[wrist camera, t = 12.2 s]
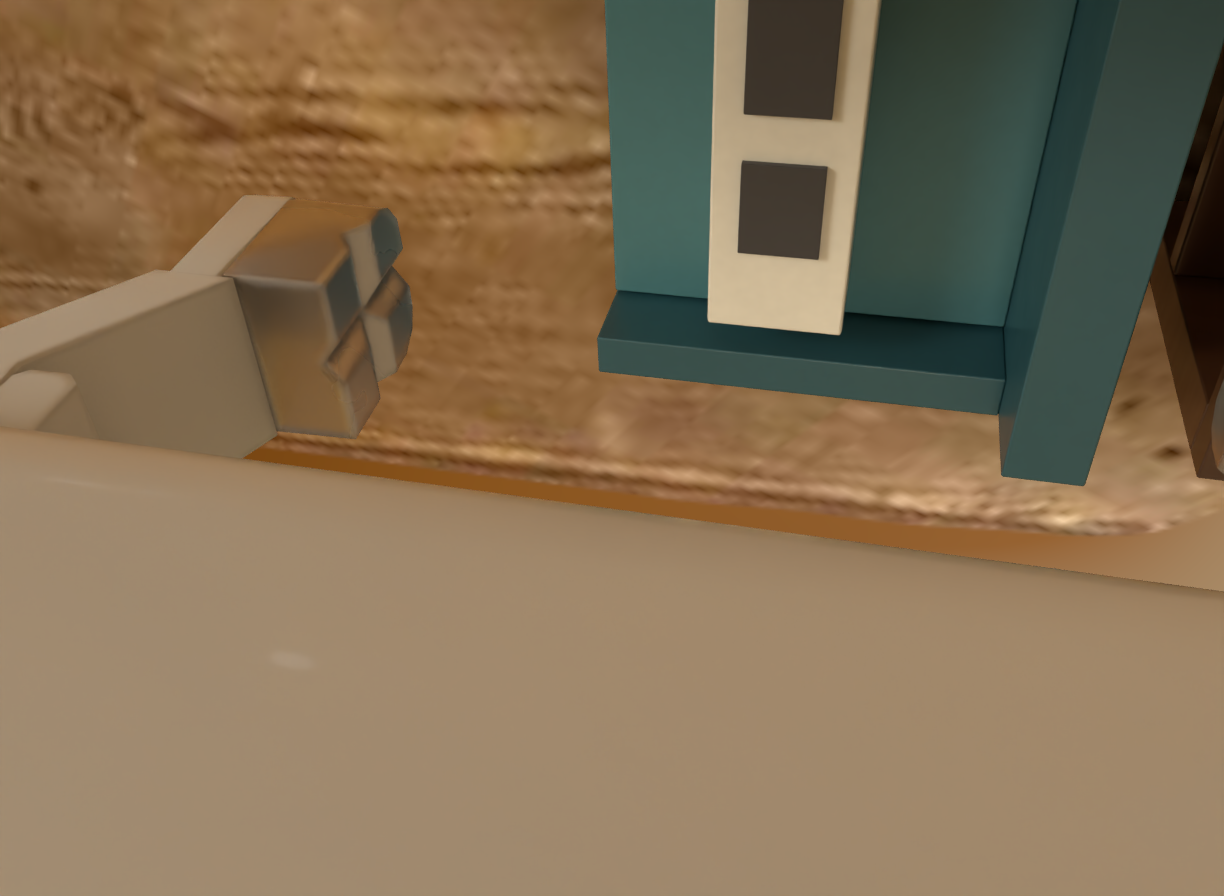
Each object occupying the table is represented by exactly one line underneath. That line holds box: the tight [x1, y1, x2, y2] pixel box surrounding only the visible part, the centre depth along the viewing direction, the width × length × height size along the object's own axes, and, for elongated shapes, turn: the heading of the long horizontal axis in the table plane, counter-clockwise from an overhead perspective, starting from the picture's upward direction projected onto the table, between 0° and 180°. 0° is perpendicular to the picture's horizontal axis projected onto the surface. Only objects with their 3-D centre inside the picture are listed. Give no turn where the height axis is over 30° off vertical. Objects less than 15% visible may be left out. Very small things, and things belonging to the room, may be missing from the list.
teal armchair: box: [597, 0, 1224, 486], centre depth 27 cm, size 13×17×10 cm
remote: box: [707, 0, 882, 335], centre depth 27 cm, size 4×12×3 cm, turn 2°
